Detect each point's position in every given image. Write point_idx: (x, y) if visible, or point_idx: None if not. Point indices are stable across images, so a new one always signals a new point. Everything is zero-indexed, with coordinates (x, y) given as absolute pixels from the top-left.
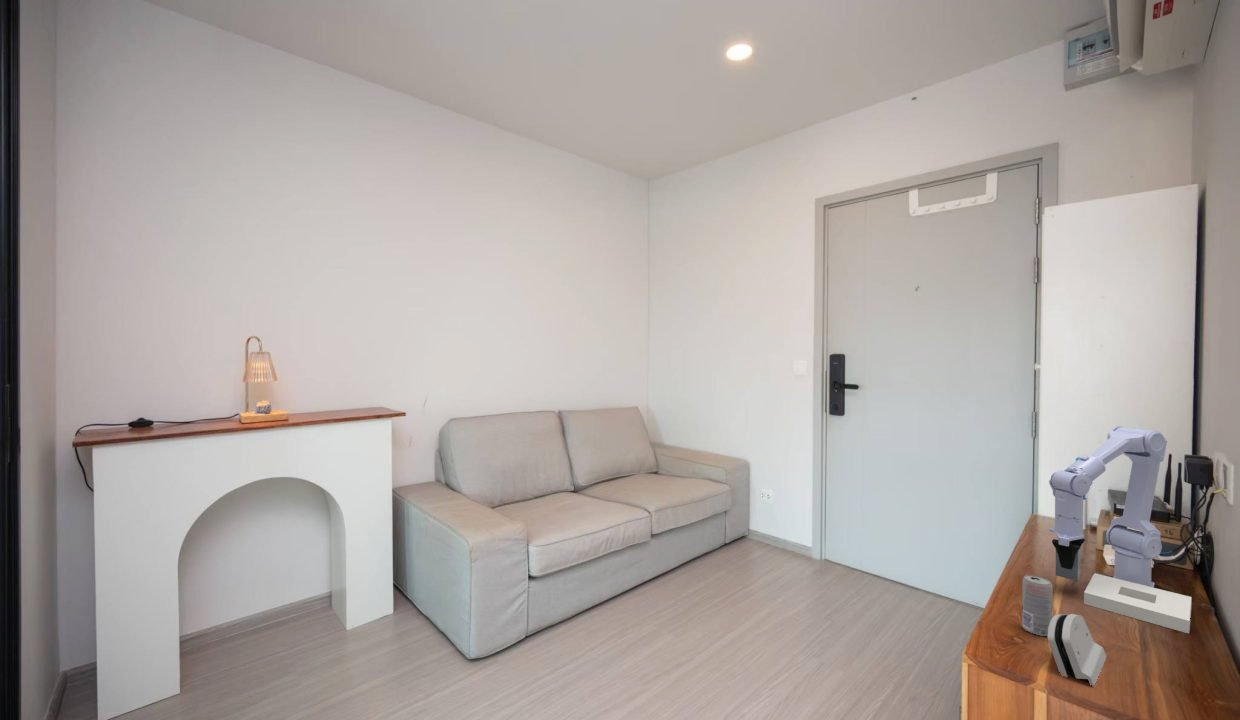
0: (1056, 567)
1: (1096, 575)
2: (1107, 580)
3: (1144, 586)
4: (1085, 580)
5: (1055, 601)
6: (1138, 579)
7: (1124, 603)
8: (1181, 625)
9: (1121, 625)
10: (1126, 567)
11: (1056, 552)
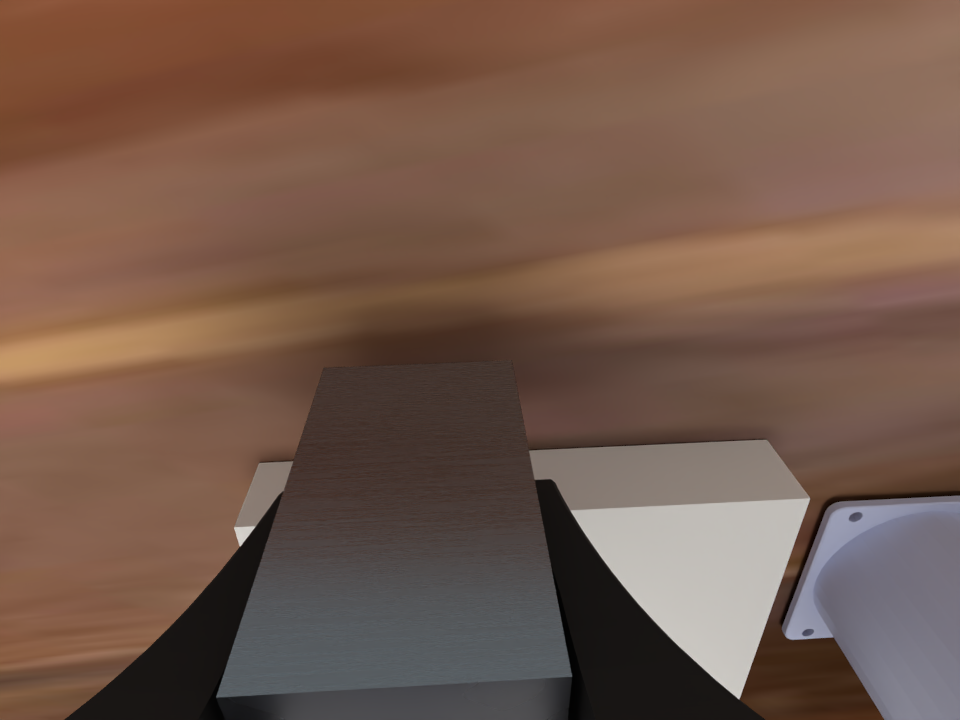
0: (304, 432)
1: (755, 514)
2: (683, 568)
3: (725, 681)
4: (806, 392)
5: (93, 340)
6: (848, 655)
7: None
8: None
9: (119, 612)
10: (906, 685)
11: (251, 596)
